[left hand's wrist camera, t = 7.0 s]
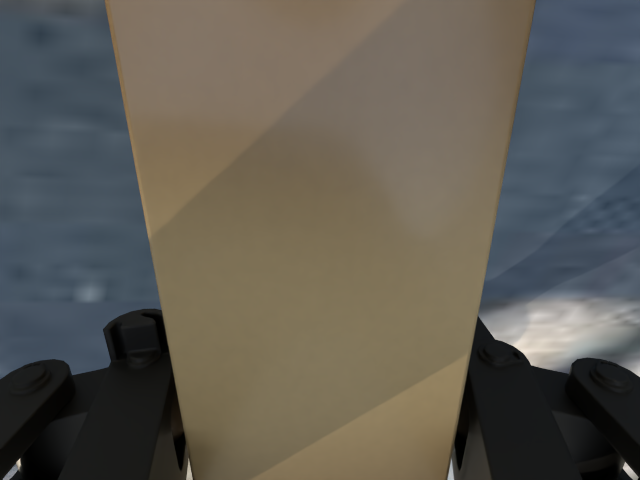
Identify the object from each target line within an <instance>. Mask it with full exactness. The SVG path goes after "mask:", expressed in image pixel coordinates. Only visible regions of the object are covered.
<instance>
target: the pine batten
mask: <svg viewBox="0 0 640 480" xmlns="http://www.w3.org/2000/svg"><path fill="white" fill-rule="evenodd" d="M535 3H536V0H105V4H106V10H107V15H108V20H109V26H110V31H111V37H112V42H113V48H114V53H115V58H116V64H117V69H118V75H119V80H120V86H121V91H122V96H123V102H124V107H125V113H126V118H127V124H128V129H129V135H130V140H131V145H132V151H133V156H134V162H135V167H136V173H137V178H138V183H139V189H140V194H141V200H142V205H143V211H144V216H145V222H146V227H147V232H148V238H149V243H150V249H151V254H152V260H153V265H154V270H155V276H156V281H157V287H158V292H159V298H160V303H161V308H162V314H163V319H164V325H165V330H166V336H167V341H168V347H169V352H170V357H171V363H172V368H173V374H174V379H175V385H176V390H177V395H178V401H179V406H180V412H181V417H182V423H183V428H184V433H185V439H186V444H187V450H188V455H189V461H190V466H191V472H192V477H193V480H447V479H448V474H449V469H450V463H451V458H452V452H453V447H454V442H455V436H456V431H457V425H458V420H459V414H460V409H461V404H462V398H463V393H464V387H465V382H466V377H467V371H468V366H469V360H470V355H471V349H472V344H473V339H474V333H475V328H476V322H477V317H478V312H479V306H480V301H481V295H482V290H483V284H484V279H485V274H486V268H487V263H488V257H489V252H490V246H491V241H492V236H493V230H494V225H495V219H496V214H497V209H498V203H499V198H500V192H501V187H502V181H503V176H504V171H505V165H506V160H507V154H508V149H509V144H510V138H511V133H512V127H513V122H514V116H515V111H516V106H517V100H518V95H519V89H520V84H521V79H522V73H523V68H524V62H525V57H526V51H527V46H528V41H529V35H530V30H531V24H532V19H533V13H534V8H535Z"/></svg>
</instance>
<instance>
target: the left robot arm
mask: <svg viewBox="0 0 640 480" xmlns="http://www.w3.org/2000/svg"><path fill="white" fill-rule="evenodd" d="M103 332H104V335H105V339H106V343H107V347H108V351H109V355H110V359H111V363H110V365H109V367H108V368H104V369H100V370H96V371H91V372H86V373H81V374H77V375H72V374H71V371H70V367H69V365H68V364H67V363H65V362H64V361H61V360H55V359H52V360H42V361H37V362H34V363H30V364H27V365H24V366H23V367H21V368H19V369H17V370H14V371H12V372H11V373H9V374H8V375H6V376H5V377H3V378H2V379H0V480H3V478H4V477H5V475H6V474H7V473H8V472H9V471H10V470H11V468H12V467H13V466H14V465H15V464H16V465H17V467H18V469H19V470H18V471H17V472H16V473H15V474H14V476H13V477H12V478H11V479H10V480H186V476H187V467H188V459H189V455H188V450H187V444H186V439H185V433H184V428H183V423H182V417H181V412H180V406H179V401H178V395H177V390H176V385H175V379H174V374H173V368H172V363H171V357H170V352H169V347H168V341H167V336H166V330H165V325H164V319H163V314H162V310H158V309H141V310H136V311H132V312H129V313H126V314H124V315H121V316H119V317H117V318H116V319H114V320H112V321H111V322H109V323H108V324H107V326H106V327H105V328H104V329H103ZM625 462H626V463H627V464H628V465H629V466H630V468H631V469H632V470H633V471H634V472H635V473H636V475H637V476H638V477H639V478H638V480H640V377H639V376H637V375H636V374H634V373H633V372H631V371H630V370H628V369H626V368H624V367H621V366H619V365H618V364H616V363H613V362H610V361H609V362H608V361H606V360H602V359H595V358H582V359H577V360H576V361H575V362H574V363H572V365H571V368H570V372H569V374H567V373H562V372H557V371H552V370H547V369H543V368H539V367H535V366H531V365H530V362H529V361H528V359H527V358H526V357H525V355H524V354H523V353H522V352H521V351H519V350H518V349H516V348H515V347H514V346H511V345H509V344H507V343H505V342H502V341H498V340H495V339H494V337H493V336H492V335H491V333H490V332H489V331H488V329H487V328H486V326H485V325H484V324H483V322H482V321H481V320H480V318H479V317H477V322H476V328H475V333H474V339H473V344H472V349H471V355H470V360H469V366H468V371H467V377H466V382H465V387H464V393H463V398H462V404H461V409H460V414H459V420H458V425H457V431H456V436H455V442H454V447H453V452H452V466H453V475H454V480H633V479H632V478H630V477H629V476H628V474H627V473H626V472H625V471H624V470H623V466H624V463H625Z"/></svg>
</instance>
